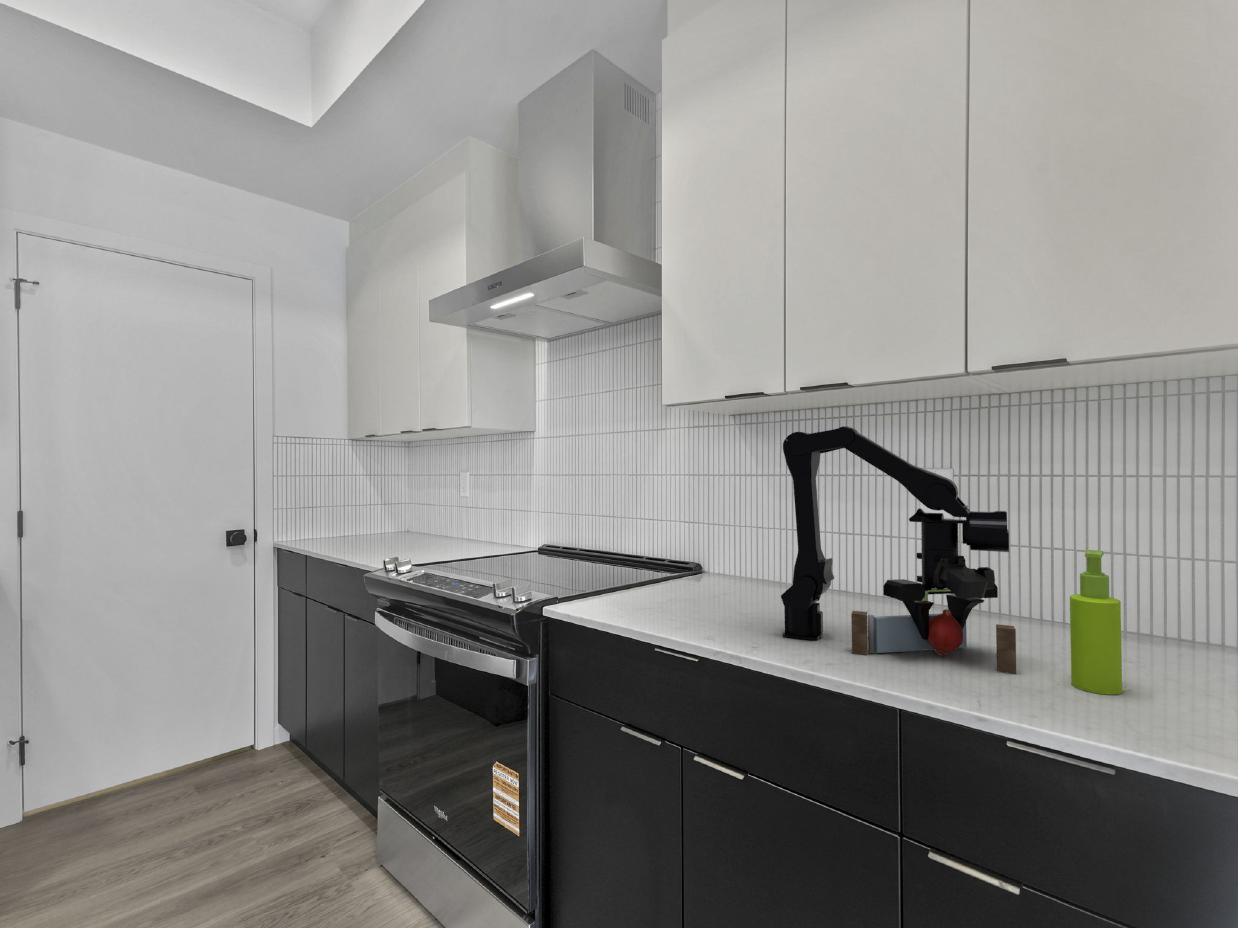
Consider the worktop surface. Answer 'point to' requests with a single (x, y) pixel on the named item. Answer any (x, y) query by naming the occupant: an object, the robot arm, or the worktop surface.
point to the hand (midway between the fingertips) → (940, 638)
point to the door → (898, 634)
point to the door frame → (1003, 642)
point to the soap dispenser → (1095, 632)
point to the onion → (945, 633)
